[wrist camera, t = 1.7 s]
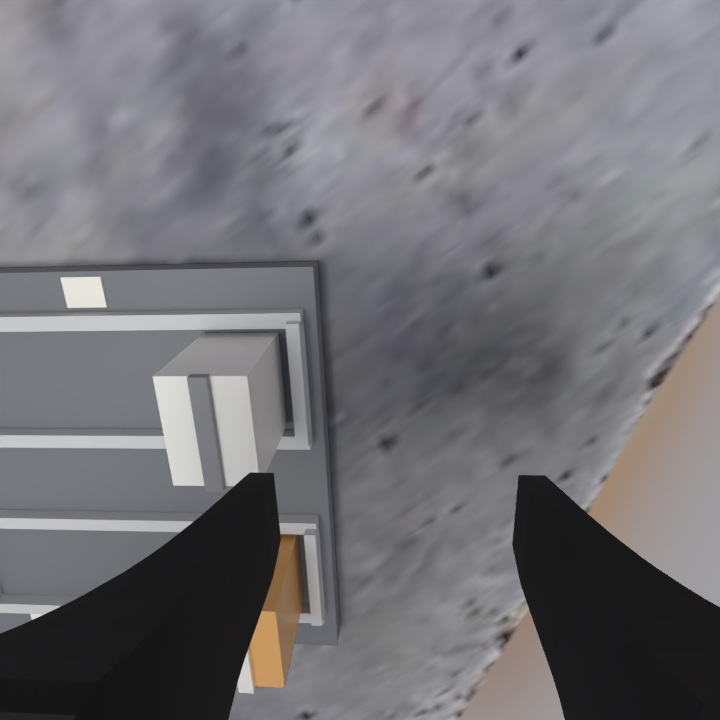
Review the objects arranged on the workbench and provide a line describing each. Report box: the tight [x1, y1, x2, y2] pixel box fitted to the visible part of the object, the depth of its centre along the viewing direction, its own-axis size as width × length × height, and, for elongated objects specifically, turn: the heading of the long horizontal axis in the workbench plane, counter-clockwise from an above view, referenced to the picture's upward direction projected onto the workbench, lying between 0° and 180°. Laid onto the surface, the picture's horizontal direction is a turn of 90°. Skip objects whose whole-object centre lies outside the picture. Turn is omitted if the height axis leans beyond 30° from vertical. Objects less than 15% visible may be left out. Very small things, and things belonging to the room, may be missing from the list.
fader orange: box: [237, 534, 303, 693], centre depth 22 cm, size 4×3×5 cm
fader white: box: [152, 333, 287, 492], centre depth 18 cm, size 4×3×5 cm
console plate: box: [0, 261, 340, 645], centre depth 23 cm, size 19×22×2 cm
